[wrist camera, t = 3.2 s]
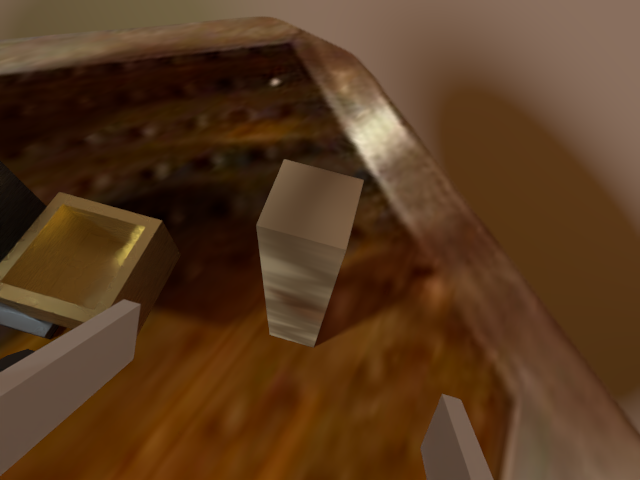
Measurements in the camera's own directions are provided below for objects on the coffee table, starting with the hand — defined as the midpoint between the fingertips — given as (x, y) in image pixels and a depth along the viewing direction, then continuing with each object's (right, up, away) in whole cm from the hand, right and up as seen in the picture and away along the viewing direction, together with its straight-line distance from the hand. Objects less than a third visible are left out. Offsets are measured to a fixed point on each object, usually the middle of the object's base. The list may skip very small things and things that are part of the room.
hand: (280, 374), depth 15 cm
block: (0, -2, +17) cm, 17 cm away
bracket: (-20, +1, +16) cm, 26 cm away
